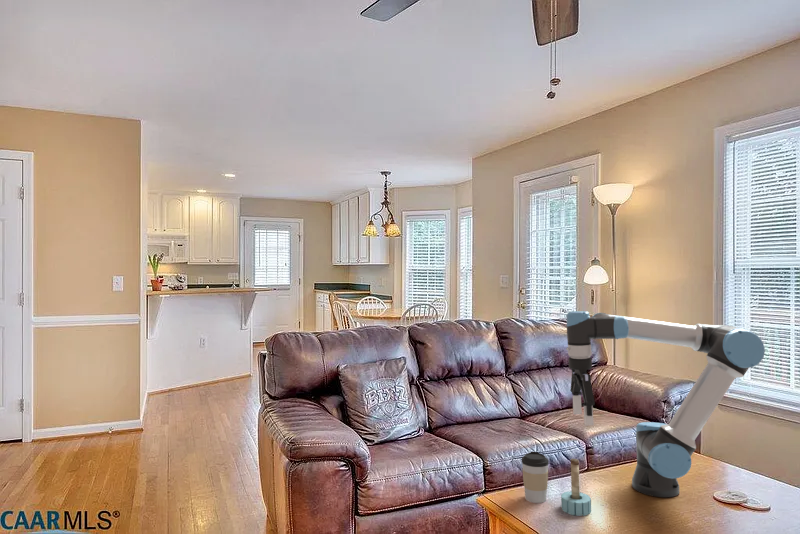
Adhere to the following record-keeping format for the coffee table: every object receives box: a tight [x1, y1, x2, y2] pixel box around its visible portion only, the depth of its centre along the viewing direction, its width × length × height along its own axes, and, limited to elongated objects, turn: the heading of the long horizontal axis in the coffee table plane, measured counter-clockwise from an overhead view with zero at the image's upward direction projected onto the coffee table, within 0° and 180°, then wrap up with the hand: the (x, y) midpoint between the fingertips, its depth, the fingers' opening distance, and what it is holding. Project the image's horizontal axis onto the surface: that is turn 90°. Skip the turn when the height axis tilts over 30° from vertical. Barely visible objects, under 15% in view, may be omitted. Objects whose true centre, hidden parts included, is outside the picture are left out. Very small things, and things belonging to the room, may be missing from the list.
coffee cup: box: [521, 451, 550, 504], centre depth 179 cm, size 9×9×15 cm
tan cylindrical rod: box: [570, 458, 580, 500], centre depth 171 cm, size 2×2×16 cm
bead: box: [560, 490, 592, 517], centre depth 171 cm, size 9×9×4 cm
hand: (583, 419), depth 178 cm, fingers open, 13 cm apart
